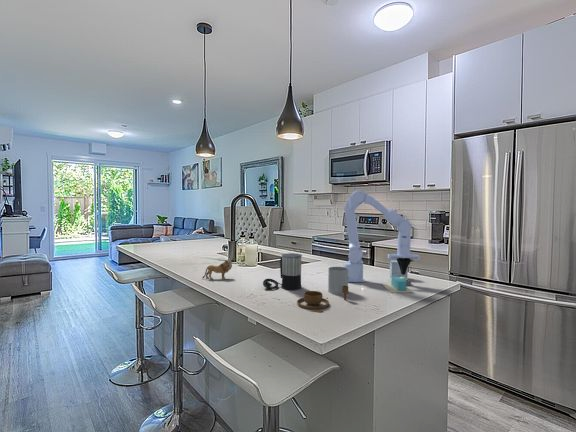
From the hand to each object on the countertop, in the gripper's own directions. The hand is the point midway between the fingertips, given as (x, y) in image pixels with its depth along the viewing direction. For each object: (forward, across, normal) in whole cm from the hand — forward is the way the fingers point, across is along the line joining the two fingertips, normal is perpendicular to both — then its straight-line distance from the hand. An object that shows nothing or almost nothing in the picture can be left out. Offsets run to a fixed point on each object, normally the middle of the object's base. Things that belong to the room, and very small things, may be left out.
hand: (403, 274), depth 152 cm
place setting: (+6, -41, -31) cm, 52 cm away
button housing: (+5, 0, 0) cm, 5 cm away
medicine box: (+5, +2, +12) cm, 13 cm away
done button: (+5, 0, 0) cm, 5 cm away
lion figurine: (+6, -89, +11) cm, 90 cm away
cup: (+5, -33, -13) cm, 36 cm away
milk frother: (+5, -57, -7) cm, 57 cm away
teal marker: (+4, -5, -8) cm, 10 cm away
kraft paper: (+5, -6, -8) cm, 11 cm away
